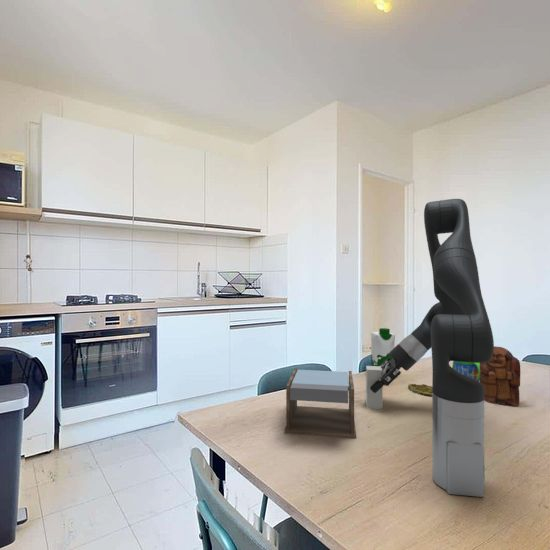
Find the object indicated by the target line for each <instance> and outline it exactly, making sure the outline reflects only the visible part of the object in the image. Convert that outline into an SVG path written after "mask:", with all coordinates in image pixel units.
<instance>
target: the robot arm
mask: <svg viewBox="0 0 550 550" xmlns="http://www.w3.org/2000/svg"><path fill="white" fill-rule="evenodd" d="M423 222H424V230H425V236H426V242H427V247H428V248H427V249H428V253H429V257H430V263H431V270H432V277H433V278H432V280H433V293H434V297H435V298H436V299H437V300H438V301H439V302H436V303H435V304H433V305H432V306H431V307H430V309H429V310H428V312H427V313H426V314H425V316H424V318H423V319H422V321H421V323H420V325H418V326H417V327H416V328H415V329H414V330H413V331H412V332H411V333H410V334H408V335H407V336H406V337H404V338H403V339H402V340H401V341H400V342H399V343H398V344H397V345H395V348H393V349H392V350H391V351H390V352H389V354H390V355H391V357H392V359H390V358H387V359H386V360H385V361H384V362H383V363H382V364H381V365H380V366H381V368H382V373H381V377H380V378H379V380H377V381H376V382H375V383H374V384H373V385H372V386H371V387H370V389H371V390H372V391H373V392H374V393H376V392H377V391H378V390H379V389H381V388H382V389H383V387H385V386H386V387H389V386H390V384H392V383H393V381H394V380H396V379H397V378H398V377H399V376H400V375H401V373H402V372H401V371H400V369H401V368H402V369H403V370H404V371H405V372H407V371H409V370H410V369H411V368H412V367H413V366H414V365H416V363H418V361H420V360H421V359H422V358H423V357H424V356H425V355H426V353H427V352H428V351H429V350H430V349H431V360H432V361H431V362H432V384H431V386H432V397H431V400H432V401H431V402H432V403H431V404H432V406H431V412H432V413H431V418H432V419H431V420H432V421H431V423H432V424H431V426H432V427H431V431H432V432H431V434H432V435H431V436H432V438H431V439H432V442H431V444H432V446H431V447H432V448H431V449H432V450H431V451H432V453H431V456H432V457H431V458H432V480H433V481H434V483H435V484H436V485H438V487H440V488H441V489H444V490H445V491H446V493H447V494H449V495H456V496H466V497H467V496H470V497H479V498H483V497H484V495H485V494H484V491H485V486H486V485H485V484H486V482H485V479H486V477H485V468H486V467H485V400H484V387H483V385H482V384H481V383H480V381H477V380H475V379H473V378H470V377H468V376H465V375H463V374H461V373H459V372H457V371H456V370H454V369H453V368H452V365H450V362H453V361H458V362H472V363H484V362H488V361H489V360H490V359H491V358H492V355H493V351H494V345H495V344H494V335H493V330H492V326H491V322H490V319H489V316H488V312H487V309H486V306H485V301H484V298H483V294H482V289H481V284H480V276H479V269H478V263H477V257H476V255H475V251H474V246H473V242H472V236H471V228H470V225H471V224H470V216H469V209H468V205H467V203H466V201H465V200H464V199H462V198H450V199H441V200H434V201H428V202H426V204H425V206H424V210H423ZM440 234H450V235H449V236H448V237H447V238H446V239H445V240H444V241H443V243H442V244H441V243H440V240H439V236H438V235H440ZM383 367H384V368H383Z"/></svg>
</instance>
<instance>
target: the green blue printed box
mask: <svg viewBox="0 0 550 550" xmlns="http://www.w3.org/2000/svg"><path fill="white" fill-rule="evenodd" d="M451 367H452V368H453V369H454V370H456V371H457V372H459V373H461V374H463V375H465V376H468V377H470V378H473V379H475V380H477V381H479V382H480V372H481V371H480V363H472V362H458V361H452V365H451Z"/></svg>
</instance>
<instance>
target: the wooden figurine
mask: <svg viewBox="0 0 550 550" xmlns="http://www.w3.org/2000/svg"><path fill="white" fill-rule="evenodd" d="M480 371H481V372H480V381H479V382H480V383H481V384H482V385H483V387H484V402H487V403H491V404H497V405H503V406H512V407H518V406H519V405H520V387H521V363H520V360H519V359H518V358H517V357H515V356H514V355H513V353H512V352H511V351H510V350H508V349H507V348H505V347H502V346H497V345H495V346H494V351H493V355H492V358H491V359H490V360H489V361H488V362H484V363H480Z"/></svg>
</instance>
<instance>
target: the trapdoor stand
mask: <svg viewBox="0 0 550 550" xmlns="http://www.w3.org/2000/svg"><path fill="white" fill-rule="evenodd" d="M297 370H298V368H297V367H296V368H294V369H293V371H292V373H291V374H290V377H289V379H288V381H287V383H286V387H285V388H286V389H285V391H286V393H285V394H286V396H285V397H286V398H285V399H286V402H285V403H286V405H285V409H286V410H285V413H286V414H285V417H286V418H285V420H286V421H285V422H286V423H285V428H284V434H293V435H306V436H317V437H318V436H320V437H329V438H330V437H333V438H344V439H345V438H347V439H357V429H356V423H355V386H354V379H353V372H352V370H348V380H349V391H348V408H338V407H337V408H336V407H334V408H333V407H321V406H320V407H319V406H304V405H298V400H290V387H291V385H292V382H293V379H294V377H295V375H296V373H297Z"/></svg>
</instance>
